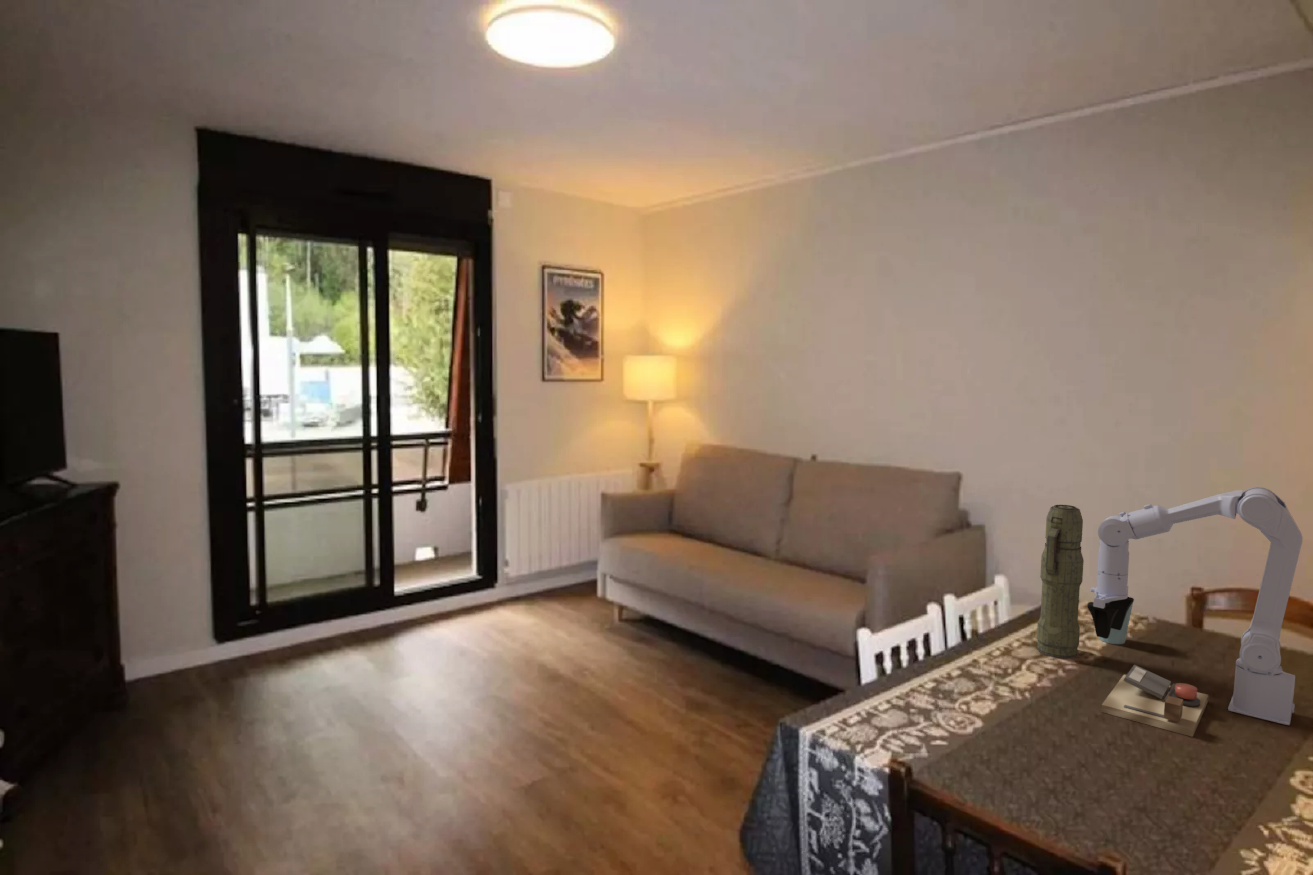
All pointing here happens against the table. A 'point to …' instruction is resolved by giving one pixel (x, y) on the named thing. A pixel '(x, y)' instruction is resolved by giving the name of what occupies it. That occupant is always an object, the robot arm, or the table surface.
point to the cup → (1119, 631)
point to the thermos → (1061, 583)
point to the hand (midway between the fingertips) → (1108, 633)
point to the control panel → (1153, 707)
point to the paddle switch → (1147, 681)
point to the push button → (1185, 691)
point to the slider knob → (1173, 708)
